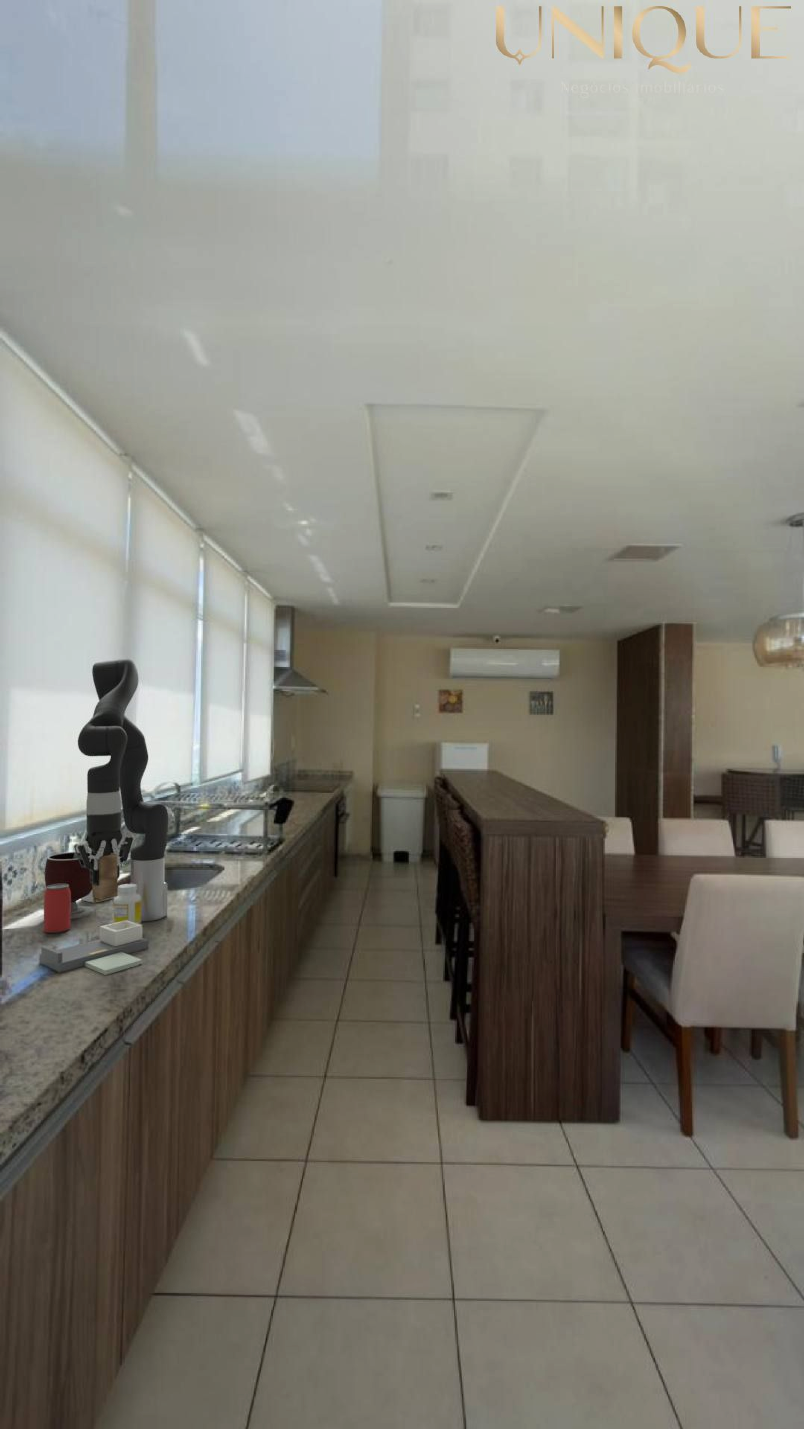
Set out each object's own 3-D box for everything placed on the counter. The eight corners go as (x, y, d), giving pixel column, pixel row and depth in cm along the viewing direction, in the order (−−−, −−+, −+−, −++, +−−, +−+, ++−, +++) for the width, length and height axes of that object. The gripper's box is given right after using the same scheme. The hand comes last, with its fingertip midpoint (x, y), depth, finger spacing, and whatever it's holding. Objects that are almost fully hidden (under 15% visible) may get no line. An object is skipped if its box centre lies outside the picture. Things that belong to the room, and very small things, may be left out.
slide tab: (126, 933, 178) (126, 920, 178) (142, 939, 173) (142, 925, 173) (99, 940, 172) (99, 926, 172) (115, 946, 168) (115, 931, 168)
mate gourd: (83, 920, 198) (83, 850, 198) (34, 920, 198) (35, 849, 198) (107, 906, 213) (107, 841, 213) (62, 906, 213) (62, 840, 214)
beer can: (76, 928, 190) (76, 884, 190) (57, 935, 184) (57, 889, 184) (57, 925, 192) (57, 882, 192) (37, 932, 186) (38, 887, 186)
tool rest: (121, 956, 167) (121, 951, 167) (142, 964, 161) (142, 959, 161) (84, 966, 160) (84, 961, 160) (105, 974, 154) (105, 970, 154)
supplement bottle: (136, 928, 189) (137, 881, 190) (143, 934, 184) (144, 886, 184) (111, 933, 186) (111, 884, 186) (117, 939, 180) (117, 889, 180)
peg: (108, 893, 167) (108, 851, 167) (117, 896, 165) (117, 854, 164) (92, 897, 164) (92, 854, 164) (101, 899, 161) (100, 857, 161)
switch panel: (127, 940, 179) (127, 924, 179) (148, 947, 173) (148, 931, 173) (39, 963, 162) (39, 945, 162) (59, 972, 156) (59, 954, 156)
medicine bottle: (93, 903, 217) (94, 864, 217) (80, 900, 221) (80, 862, 221) (114, 898, 223) (114, 860, 223) (100, 895, 227) (100, 858, 227)
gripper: (123, 805, 172) (124, 875, 172) (66, 813, 161) (67, 887, 161) (140, 808, 167) (141, 879, 168) (82, 816, 156) (83, 892, 156)
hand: (104, 882), depth 164 cm, fingers closed on peg, 4 cm apart
